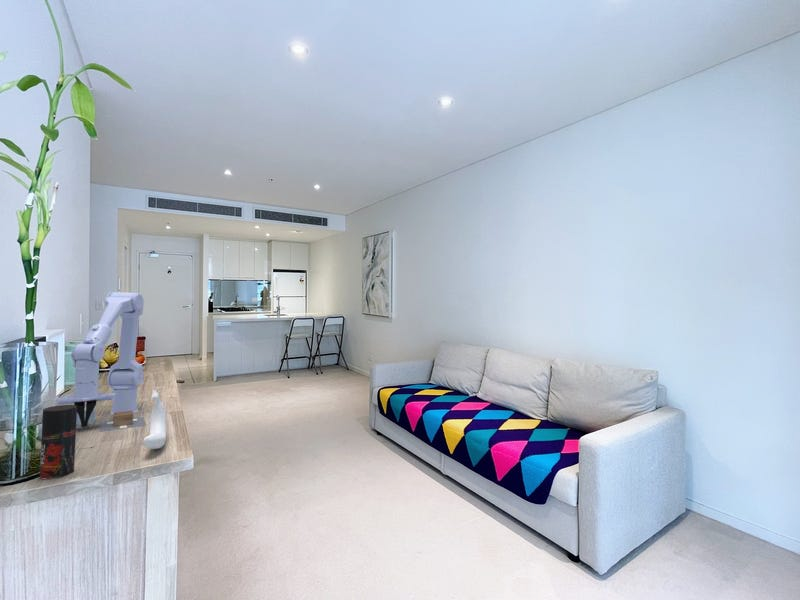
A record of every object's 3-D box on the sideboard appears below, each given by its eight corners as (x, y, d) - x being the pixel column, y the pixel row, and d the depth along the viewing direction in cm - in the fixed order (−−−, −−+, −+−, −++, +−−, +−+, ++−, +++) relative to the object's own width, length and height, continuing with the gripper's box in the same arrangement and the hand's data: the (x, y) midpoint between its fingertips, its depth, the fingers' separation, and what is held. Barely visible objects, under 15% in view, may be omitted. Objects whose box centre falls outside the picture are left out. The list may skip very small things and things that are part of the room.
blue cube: (74, 423, 126) (75, 408, 126) (94, 421, 129) (94, 406, 129) (73, 427, 122) (74, 411, 122) (93, 425, 125) (94, 409, 125)
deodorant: (80, 469, 91) (84, 405, 91) (55, 480, 85) (59, 411, 85) (58, 467, 91) (61, 404, 92) (31, 478, 85) (35, 410, 86)
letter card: (99, 423, 126) (99, 422, 126) (143, 418, 133) (143, 416, 133) (99, 433, 116) (99, 431, 116) (146, 427, 123) (146, 425, 123)
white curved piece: (141, 460, 96) (144, 402, 97) (147, 438, 113) (149, 388, 113) (164, 457, 99) (166, 400, 99) (166, 436, 115) (168, 387, 116)
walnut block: (113, 423, 125) (113, 412, 125) (131, 420, 128) (132, 410, 128) (113, 427, 121) (113, 415, 121) (132, 424, 124) (133, 413, 124)
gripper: (53, 386, 111) (51, 433, 111) (115, 381, 120) (113, 425, 120) (56, 382, 117) (54, 427, 117) (115, 378, 126) (113, 420, 125)
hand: (84, 425), depth 119 cm, fingers closed
